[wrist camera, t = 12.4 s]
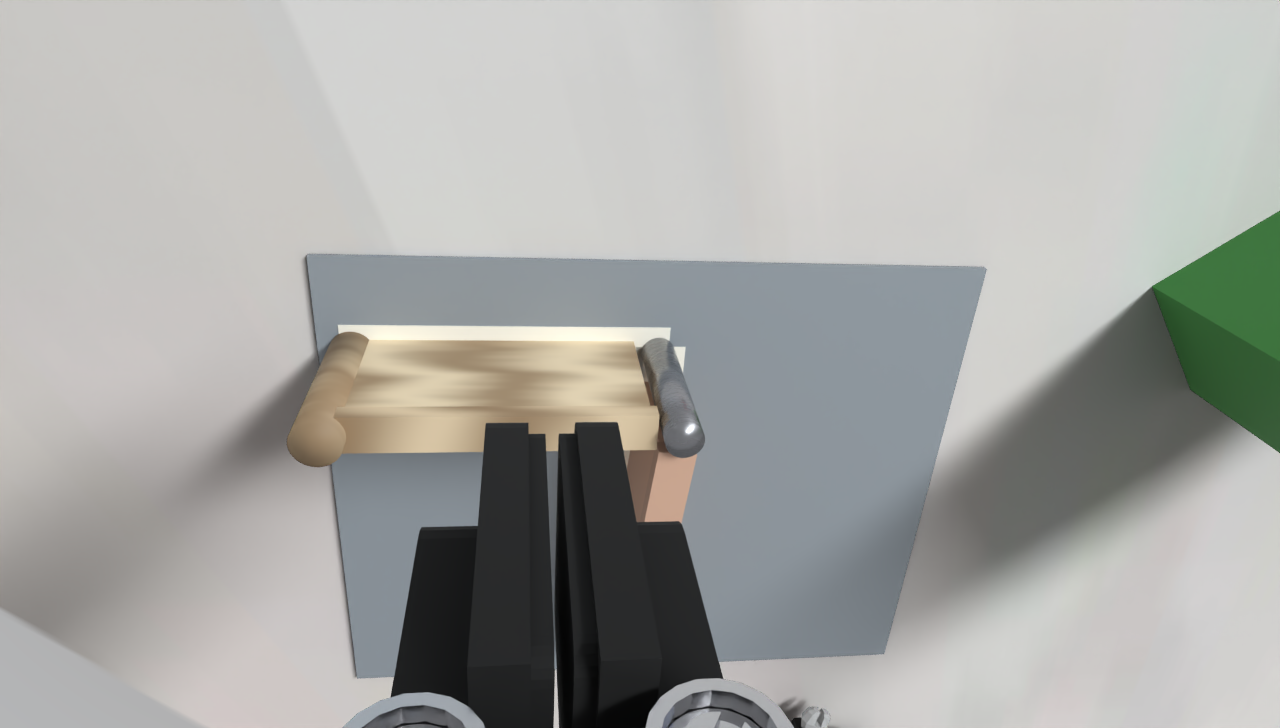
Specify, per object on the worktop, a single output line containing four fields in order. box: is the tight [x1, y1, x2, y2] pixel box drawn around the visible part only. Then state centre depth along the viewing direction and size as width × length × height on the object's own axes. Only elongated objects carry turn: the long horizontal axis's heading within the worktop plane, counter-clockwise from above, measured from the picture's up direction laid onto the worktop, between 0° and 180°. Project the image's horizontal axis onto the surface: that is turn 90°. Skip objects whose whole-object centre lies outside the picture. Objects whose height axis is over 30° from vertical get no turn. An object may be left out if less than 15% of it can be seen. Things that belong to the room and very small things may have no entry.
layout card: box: [306, 254, 987, 678], centre depth 44 cm, size 31×25×1 cm
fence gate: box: [627, 381, 697, 523], centre depth 40 cm, size 14×2×7 cm, turn 171°
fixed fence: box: [287, 332, 705, 467], centre depth 36 cm, size 16×2×8 cm, turn 86°
